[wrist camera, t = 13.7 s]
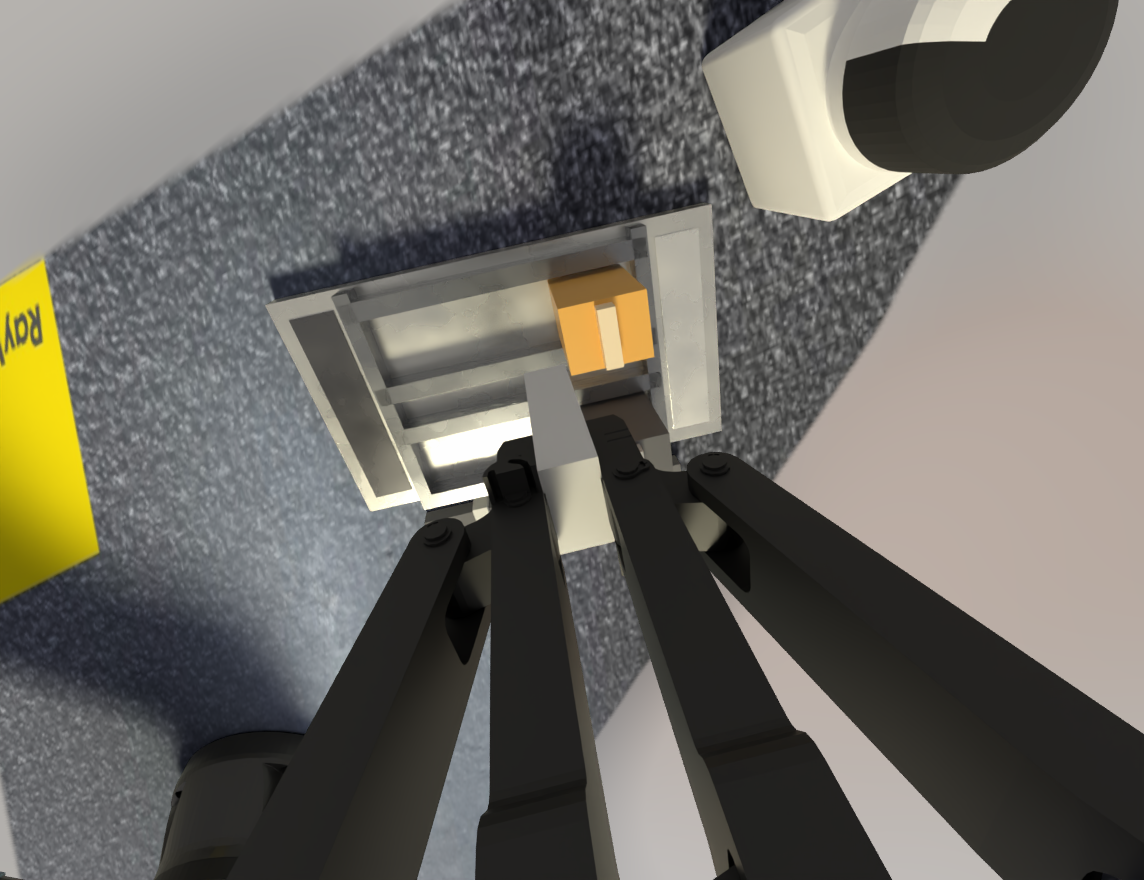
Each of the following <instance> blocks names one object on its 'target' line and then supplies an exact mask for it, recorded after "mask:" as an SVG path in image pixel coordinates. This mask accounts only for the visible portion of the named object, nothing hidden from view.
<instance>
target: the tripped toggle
mask: <svg viewBox="0 0 1144 880" xmlns="http://www.w3.org/2000/svg"><path fill="white" fill-rule="evenodd" d="M547 283H548V287H549V292H550V297H551V301H552V306H553V311H554V315H555V320H556V325H557V329H558V334H559V338H560V341H561V344H562V348H563V351H564V354H565V357H566V360H567V363H568V367H569V370H570V373H571V376H573V375H578V374H582V373H586V372H591V371H595V370H600V369H604V368H606V370H607V371H608V370H612V369H617V368H621V367H624V364H626V363H630V362H635V361H639V360H643V359H648V358H652V357H654V349H653V340H652V331H651V322H650V314H649V305H648V296H647V289H646V288H645V287H644V286H643V285H642V284H641V283H639V282H638V281H637V280H636V279H635V278H634V277H633V276H632V275H631V274H630V273H628V272H627V271H626V270H625V269H624V268H623V267H622V266H621V265H620V264H617V265H613V266H608V267H604V268H599V269H595V270H591V271H586V272H582V273H577V274H573V275H568V276H564V277H560V278H555V279H551V280H547Z"/></svg>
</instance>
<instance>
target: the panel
mask: <svg viewBox="0 0 1144 880" xmlns="http://www.w3.org/2000/svg"><path fill="white" fill-rule="evenodd" d="M617 264H620V265H621V266H622V267H623V268H624V269H625V270H626V271H627V272H628V273H630V274H631V275H632V276H633V277H634V278H635V279H636V280H637V281H638V282H639V283H641V284H642V285H643V286H644V287H645V288H646V289H647V296H648V305H649V314H650V322H651V331H652V340H653V349H654V357H652V358H648V359H643V360H639V361H635V362H630V363H626V364H624V367H621V368H617V369H612V370H608V371H607V370H606V368H604V369H600V370H595V371H591V372H586V373H582V374H578V375H573V376H571V373H570V370H569V367H568V363H567V360H566V357H565V354H564V351H563V348H562V344H561V341H560V338H559V334H558V329H557V325H556V320H555V315H554V311H553V306H552V301H551V297H550V292H549V287H548V283H547V280H551V279H555V278H560V277H564V276H568V275H573V274H577V273H582V272H586V271H591V270H595V269H599V268H604V267H608V266H613V265H617ZM265 306H266V308H267V310H268V312H269V314H270V316H271V318H272V320H273V322H274V324H275V326H276V328H277V329H278V331H279V333H280V335H281V337H282V339H283V341H284V343H285V345H286V347H287V349H288V351H289V353H290V355H291V357H292V359H293V361H294V363H295V365H296V367H297V369H298V371H299V372H300V374H301V376H302V378H303V380H304V382H305V384H306V386H307V388H308V390H309V392H310V394H311V396H312V398H313V400H314V402H315V404H316V406H317V408H318V410H319V412H320V414H321V416H322V417H323V419H324V421H325V423H326V425H327V427H328V429H329V431H330V433H331V435H332V437H333V439H334V441H335V443H336V445H337V447H338V449H339V451H340V453H341V455H342V457H343V459H344V460H345V462H346V464H347V466H348V468H349V470H350V472H351V474H352V476H353V478H354V480H355V482H356V484H357V486H358V488H359V490H360V492H361V494H362V496H363V498H364V500H365V502H366V504H367V505H368V507H369V509H370V511H375V510H380V509H384V508H388V507H393V506H397V505H401V504H406V503H410V502H414V501H419V500H420V501H421V503H422V505H423V508H424V510H427V509H431V508H436V507H440V506H444V505H449V504H453V503H457V502H462V501H466V500H470V499H475V498H479V497H483V496H488V493H487V490H486V487H485V485H484V482H483V479H482V477H483V474H484V471H485V470H486V469H487V468H488V467H489V466H490V465H492V464H494V463H496V462H497V451H498V449H499V448H500V446H501V445H502V443H503V442H504V441H508V440H512V439H516V438H521V437H525V436H529V435H532V430H531V422H530V415H529V408H528V401H527V394H526V387H525V380H524V373H527V372H531V371H536V370H540V369H544V368H548V367H552V366H557V365H561V364H565V366H566V369H567V372H568V374H569V377H570V380H571V383H572V386H573V388H574V391H575V394H576V397H577V400H578V402H579V405H584V404H588V403H593V402H597V401H601V400H606V399H610V398H615V397H619V396H623V395H628V394H632V393H636V392H641V391H644V392H645V394H646V396H647V397H648V399H649V401H650V402H651V404H652V405H653V407H654V409H655V410H656V412H657V414H658V415H659V417H660V419H661V420H662V422H663V424H664V425H665V427H666V429H667V430H668V432H669V435H670V442H675V441H679V440H684V439H688V438H692V437H697V436H701V435H705V434H710V433H714V432H718V431H722V430H721V408H720V385H719V363H718V340H717V318H716V295H715V273H714V250H713V227H712V205H711V204H708V203H704V202H703V203H699V204H694V205H690V206H686V207H681V208H677V209H672V210H668V211H663V212H659V213H655V214H650V215H646V216H641V217H637V218H633V219H628V220H624V221H619V222H615V223H610V224H606V225H602V226H597V227H593V228H588V229H584V230H580V231H575V232H571V233H566V234H562V235H557V236H553V237H549V238H544V239H540V240H535V241H531V242H527V243H522V244H518V245H513V246H509V247H504V248H500V249H496V250H491V251H487V252H482V253H478V254H474V255H469V256H465V257H460V258H456V259H451V260H447V261H443V262H438V263H434V264H429V265H425V266H421V267H416V268H412V269H407V270H403V271H398V272H394V273H390V274H385V275H381V276H376V277H372V278H368V279H363V280H359V281H354V282H350V283H345V284H341V285H337V286H332V287H328V288H323V289H319V290H315V291H310V292H306V293H301V294H297V295H292V296H288V297H284V298H279V299H275V300H273V301H271V302H270V303H268V304H266V305H265Z"/></svg>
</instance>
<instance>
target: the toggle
mask: <svg viewBox="0 0 1144 880" xmlns="http://www.w3.org/2000/svg"><path fill="white" fill-rule="evenodd" d="M580 408H581V411H582V414H583V416H584V419H585V421H587V420H591V419H595V418H599V417H604V416H608V415H612V414H614V415H616V416H618V417H620V418H621V419H623V420H624V421H625V423H626V425H627V427H628V430H629V431H630V433H631V435H632V437H633V439H634V441H635V443H636V445H637V447H638V448H639V450H640V452H641V454H642V456H643V458H644V459H647V460H649V461H650V462H651V463H652V464H653V465H654V467H655V469H658V470H662V471H672V472H673V463H672V453H671V444H670V435H669V432H668V430H667V429H666V427H665V425H664V424H663V422H662V420H661V419H660V417H659V415H658V414H657V412H656V410H655V409H654V407H653V405H652V404H651V402H650V401H649V399H648V397H647V396H646V394H645V392H644V391H641V392H636V393H632V394H628V395H623V396H619V397H615V398H610V399H606V400H601V401H597V402H593V403H588V404H584V405H580Z"/></svg>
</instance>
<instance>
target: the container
mask: <svg viewBox="0 0 1144 880" xmlns="http://www.w3.org/2000/svg"><path fill="white" fill-rule="evenodd" d="M1117 7H1118V0H784V1H782V2H781V3H780V4H778V5H777V6H775V7H774V8H772V9H771V10H770V11H768V12H767V13H765V14H764V15H763V16H761V17H760V18H758V19H757V20H755V21H754V22H753V23H751V24H750V25H748V26H747V27H746V28H744V29H743V30H741V31H740V32H738V33H737V34H736V35H734V36H733V37H731V38H730V39H729V40H727V41H726V42H724V43H723V44H721V45H720V46H719V47H717V48H716V49H714V50H713V51H712V52H710V53H709V54H707V55H706V56H705V58H704V59H703V62H702V69H703V72H704V75H705V77H706V80H707V83H708V86H709V88H710V91H711V94H712V97H713V99H714V102H715V105H716V108H717V110H718V113H719V116H720V119H721V121H722V124H723V127H724V130H725V132H726V135H727V138H728V140H729V143H730V146H731V149H732V151H733V154H734V157H735V160H736V162H737V165H738V168H739V171H740V173H741V176H742V179H743V182H744V184H745V187H746V190H747V193H748V195H749V198H750V201H751V203H752V205H753V206H754V207H756V208H760V209H765V210H771V211H776V212H781V213H787V214H792V215H797V216H802V217H808V218H813V219H818V220H824V221H833V220H836V219H838V218H839V217H841V216H842V215H844V214H846V213H847V212H849V211H851V210H852V209H854V208H856V207H857V206H859V205H860V204H862V203H864V202H865V201H867V200H869V199H870V198H872V197H873V196H875V195H877V194H878V193H880V192H882V191H883V190H885V189H886V188H888V187H890V186H891V185H893V184H895V183H896V182H898V181H899V180H901V179H903V178H904V177H906V176H908V175H909V174H911V173H937V174H970V173H975V172H981V171H984V170H987V169H990V168H993V167H996V166H998V165H1000V164H1002V163H1004V162H1006V161H1008V160H1010V159H1012V158H1013V157H1015V156H1017V155H1018V154H1020V153H1021V152H1023V151H1024V150H1026V149H1027V148H1028V147H1029V146H1031V145H1032V144H1033V143H1035V142H1036V141H1037V140H1038V139H1039V138H1040V137H1041V136H1043V135H1044V134H1045V133H1046V132H1047V131H1048V129H1050V128H1051V127H1052V126H1053V125H1054V124H1055V123H1056V122H1057V121H1058V120H1059V119H1060V118H1061V117H1062V116H1063V114H1064V113H1065V112H1066V111H1067V110H1068V109H1069V108H1070V106H1071V105H1072V104H1073V103H1074V101H1075V100H1076V98H1077V97H1078V96H1079V94H1080V93H1081V92H1082V90H1083V89H1084V87H1085V85H1086V84H1087V82H1088V81H1089V79H1090V78H1091V76H1092V74H1093V72H1094V70H1095V68H1096V66H1097V65H1098V62H1099V61H1100V59H1101V56H1102V54H1103V52H1104V49H1105V47H1106V45H1107V42H1108V39H1109V36H1110V33H1111V30H1112V27H1113V24H1114V20H1115V15H1116V12H1117Z"/></svg>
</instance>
